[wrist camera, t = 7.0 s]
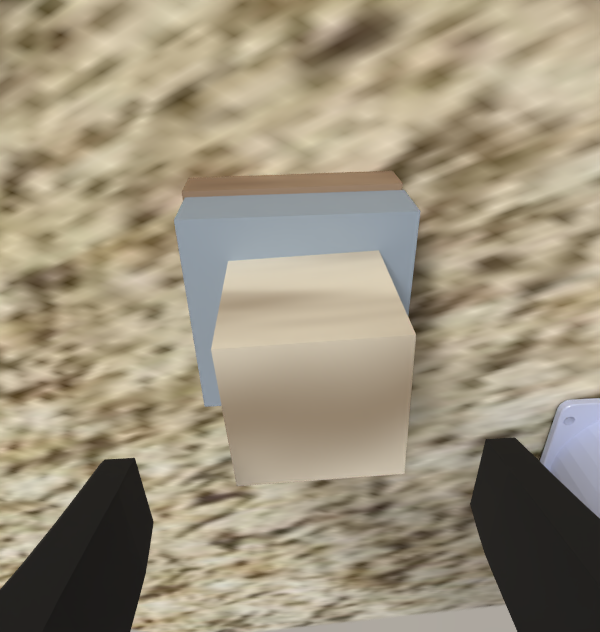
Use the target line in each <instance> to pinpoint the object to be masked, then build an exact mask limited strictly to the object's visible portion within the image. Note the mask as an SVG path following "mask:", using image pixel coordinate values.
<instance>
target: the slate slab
mask: <svg viewBox="0 0 600 632" xmlns="http://www.w3.org/2000/svg"><path fill="white" fill-rule="evenodd" d="M419 218H420V210H419V209H418V208H417V206H416V205H415V204H414V202H413V201H412V199H411V198H410V197H409V195H408V194H407V193H406V191H405V190H386V191H357V192H328V193H299V194H269V195H240V196H212V197H185V198H184V200H183V203H182V205H181V207H180V209H179V211H178V213H177V215H176V217H175V219H174V223H175V229H176V235H177V241H178V247H179V253H180V259H181V265H182V272H183V278H184V284H185V290H186V296H187V302H188V308H189V314H190V320H191V326H192V332H193V338H194V344H195V350H196V357H197V363H198V369H199V375H200V381H201V387H202V393H203V399H204V405H205V406H222V405H221V400H220V395H219V390H218V384H217V379H216V374H215V368H214V363H213V358H212V353H211V347H212V341H213V336H214V331H215V326H216V321H217V316H218V310H219V305H220V300H221V295H222V290H223V284H224V279H225V274H226V269H227V264H228V261H236V260H250V259H264V258H278V257H292V256H306V255H320V254H335V253H349V252H363V251H377V250H379V252H380V254H381V256H382V259H383V261H384V263H385V265H386V268H387V270H388V272H389V275H390V277H391V279H392V281H393V284H394V286H395V288H396V290H397V293H398V295H399V297H400V300H401V302H402V304H403V306H404V309H405V311H406V313H407V315H408V314H409V305H410V297H411V288H412V279H413V270H414V262H415V253H416V244H417V236H418V227H419Z"/></svg>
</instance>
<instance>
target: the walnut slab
mask: <svg viewBox="0 0 600 632" xmlns="http://www.w3.org/2000/svg"><path fill="white" fill-rule="evenodd" d="M402 184H403V183H402V182H401V181H400V180H399V178H398V177H397V176H396V175H395V173H394V172H393V171H373V172H345V173H317V174H289V175H261V176H233V177H205V178H189V179H188V181H187V183H186V184H185V186H184V188H183V190H182V196H183V200H184V198H185V197H212V196H240V195H269V194H299V193H328V192H357V191H386V190H402Z"/></svg>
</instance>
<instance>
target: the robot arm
mask: <svg viewBox="0 0 600 632" xmlns="http://www.w3.org/2000/svg"><path fill="white" fill-rule="evenodd" d="M470 505H471V509H472V512H473V516H474V519H475V523H476V526H477V530H478V533H479V536H480V540H481V543H482V546H483V549H484V553H485V555H486V558H487V560H488V563H489V565H490V568H491V570H492V572H493V575H494V577H495V580H496V582H497V584H498V587H499V589H500V592H501V594H502V596H503V599H504V601H505V603H506V606H507V608H508V610H509V613H510V615H511V618H512V620H513V622H514V624H515V627H516V629H517V632H600V398H593V399H574V400H566V401H564V402H562V403H561V404H560V405H559V407H558V408H557V411H556V414H555V417H554V420H553V423H552V426H551V429H550V432H549V435H548V438H547V441H546V444H545V447H544V450H543V453H542V456H541V459H540V461H539V460H538V459H537V458H536V457H535V456H534V455H532V454H531V453H530V452H529V451H528V450H527V449H526V448H525V447H524V446H523V445H522V444H521V443H520V442H519V441H518V440H517V439H516V438H501V439H486V441H485V445H484V449H483V453H482V457H481V461H480V466H479V470H478V474H477V478H476V482H475V486H474V490H473V495H472V499H471V503H470ZM152 529H153V519H152V515H151V512H150V508H149V505H148V502H147V498H146V495H145V491H144V488H143V484H142V481H141V478H140V474H139V471H138V467H137V464H136V461H135V458H126V459H107V460H104V461H103V462H102V463H101V464H100V465H99V466H98V468H97V469H96V470H95V472H94V473H93V474H92V476H91V477H90V478H89V480H88V481H87V482H86V484H85V485H84V486H83V488H82V489H81V490H80V491H79V493H78V494H77V495H76V497H75V498H74V499H73V501H72V502H71V503H70V505H69V506H68V507H67V509H66V510H65V511H64V512H63V514H62V515H61V516H60V518H59V519H58V520H57V521H56V523H55V524H54V525H53V526H52V528H51V529H50V530H49V531H48V533H47V534H46V535H45V536H44V538H43V539H42V540H41V541H40V543H39V544H38V545H37V546H36V548H35V549H34V550H33V551H32V552H31V554H30V555H29V556H28V557H27V559H26V560H25V561H24V562H23V564H22V565H21V566H20V567H19V568H18V570H17V571H16V572H15V573H14V574H13V575H12V576H11V578H10V579H9V580H8V581H7V582H6V583H5V585H4V586H3V587H2V588H1V589H0V632H130V630H131V627H132V623H133V619H134V616H135V612H136V608H137V604H138V601H139V597H140V593H141V589H142V585H143V581H144V578H145V574H146V568H147V562H148V556H149V549H150V542H151V536H152Z"/></svg>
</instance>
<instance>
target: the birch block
mask: <svg viewBox="0 0 600 632" xmlns="http://www.w3.org/2000/svg"><path fill="white" fill-rule="evenodd" d="M415 341H416V334H415V331H414V329H413V327H412V325H411V322H410V320H409V318H408V315H407V313H406V311H405V309H404V306H403V304H402V302H401V300H400V297H399V295H398V293H397V290H396V288H395V286H394V284H393V281H392V279H391V277H390V275H389V272H388V270H387V268H386V265H385V263H384V261H383V259H382V256H381V254H380V252H379V250H377V251H363V252H349V253H335V254H320V255H306V256H292V257H278V258H264V259H250V260H236V261H228V264H227V269H226V274H225V279H224V284H223V290H222V295H221V300H220V305H219V310H218V316H217V321H216V326H215V331H214V336H213V341H212V347H211V353H212V358H213V363H214V368H215V374H216V379H217V384H218V390H219V395H220V400H221V405H222V411H223V416H224V421H225V426H226V432H227V437H228V442H229V447H230V453H231V458H232V463H233V468H234V474H235V479H236V484H237V486H244V485H258V484H271V483H285V482H298V481H312V480H326V479H339V478H353V477H366V476H380V475H394V474H404V473H405V461H406V449H407V437H408V425H409V413H410V401H411V389H412V377H413V365H414V353H415Z"/></svg>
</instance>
